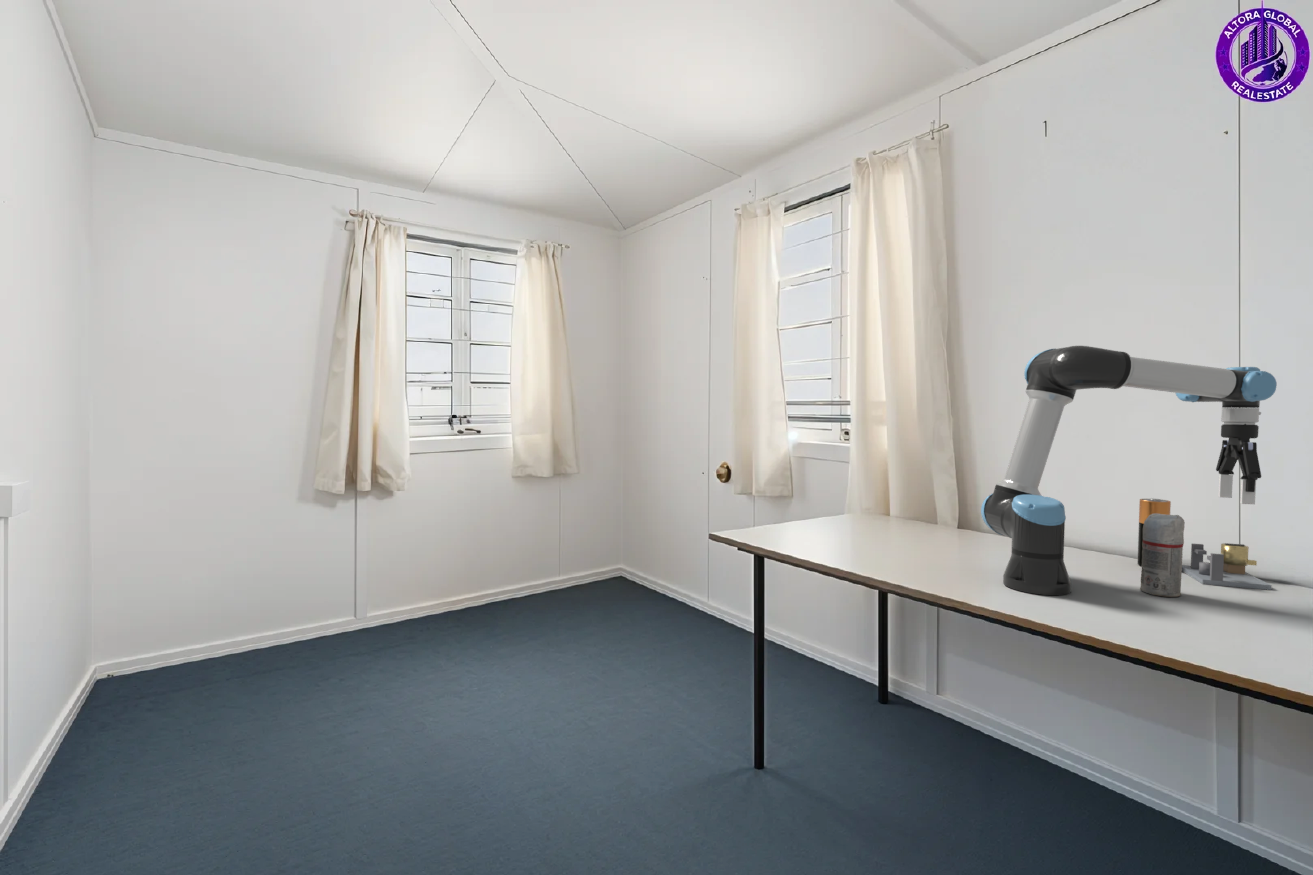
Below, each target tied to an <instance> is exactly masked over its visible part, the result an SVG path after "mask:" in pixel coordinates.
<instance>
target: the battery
mask: <svg viewBox="0 0 1313 875" xmlns="http://www.w3.org/2000/svg"><path fill="white" fill-rule="evenodd" d="M1138 505H1139V506H1138V508H1139V509H1138V511H1139V512H1138V532H1137V533H1138V535H1137V536H1138V537H1137V540H1138V541H1137V565H1139V566H1141V567H1142V550H1143V547H1142V542H1143V525H1144V521H1145V520H1146V519H1147V518H1148V516H1149V515H1151V514H1154V513H1157V514H1165V515H1171V507H1172V506H1171V505H1172V502H1171V500H1167V499H1162V498H1140V499H1139V504H1138Z"/></svg>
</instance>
